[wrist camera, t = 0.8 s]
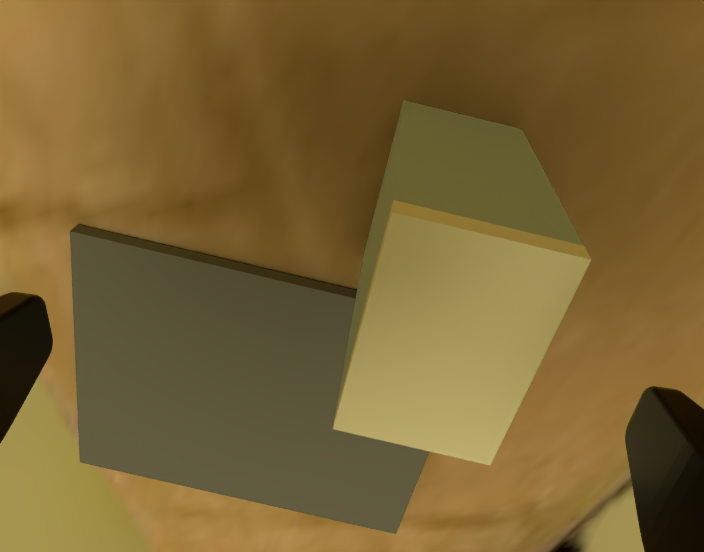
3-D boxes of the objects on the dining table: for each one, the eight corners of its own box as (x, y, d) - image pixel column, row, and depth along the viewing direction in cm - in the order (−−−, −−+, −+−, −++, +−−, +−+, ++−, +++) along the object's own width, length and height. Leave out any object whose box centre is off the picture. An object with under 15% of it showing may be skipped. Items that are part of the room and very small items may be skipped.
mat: (478, 319, 23) (479, 327, 22) (396, 523, 30) (395, 534, 29) (77, 224, 23) (70, 231, 22) (85, 452, 29) (79, 462, 29)
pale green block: (521, 128, 19) (591, 259, 11) (465, 280, 22) (490, 465, 14) (403, 100, 19) (392, 211, 11) (363, 256, 22) (332, 429, 14)
